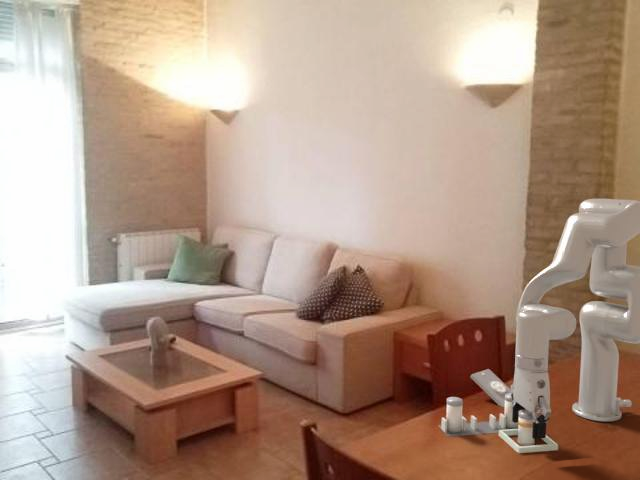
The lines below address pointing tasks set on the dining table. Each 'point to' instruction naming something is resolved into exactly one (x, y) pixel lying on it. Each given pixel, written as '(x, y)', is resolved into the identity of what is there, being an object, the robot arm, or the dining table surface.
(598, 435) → the dining table surface
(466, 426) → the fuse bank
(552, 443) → the tray
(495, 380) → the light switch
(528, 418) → the cylinder
